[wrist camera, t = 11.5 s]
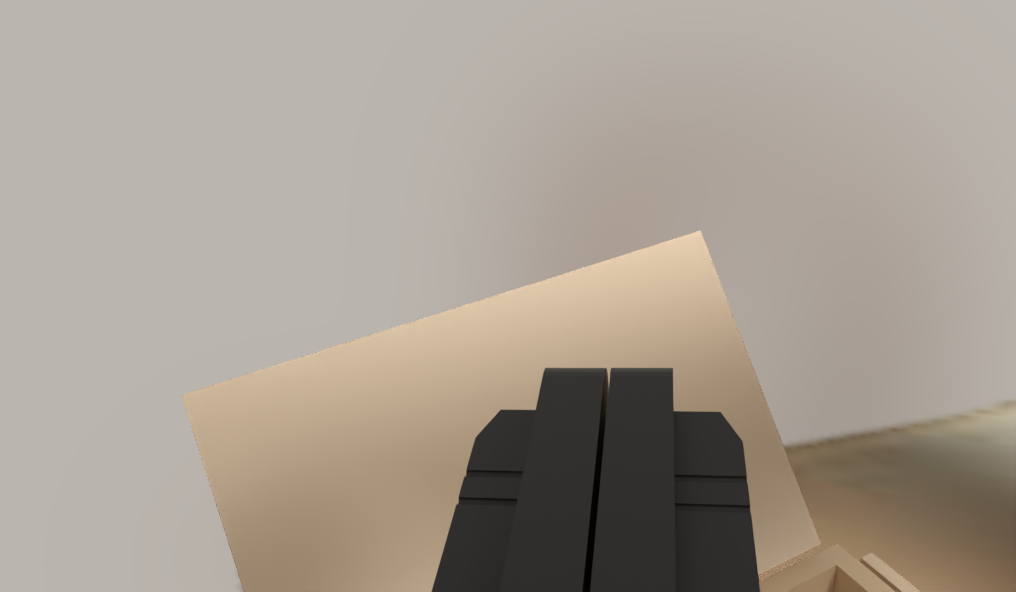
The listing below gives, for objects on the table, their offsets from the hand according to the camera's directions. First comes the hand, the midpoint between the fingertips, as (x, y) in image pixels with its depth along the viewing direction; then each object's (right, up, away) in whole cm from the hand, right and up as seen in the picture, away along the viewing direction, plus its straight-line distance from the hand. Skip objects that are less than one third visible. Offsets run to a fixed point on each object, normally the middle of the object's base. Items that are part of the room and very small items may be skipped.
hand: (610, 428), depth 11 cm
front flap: (-1, -3, +12) cm, 12 cm away
